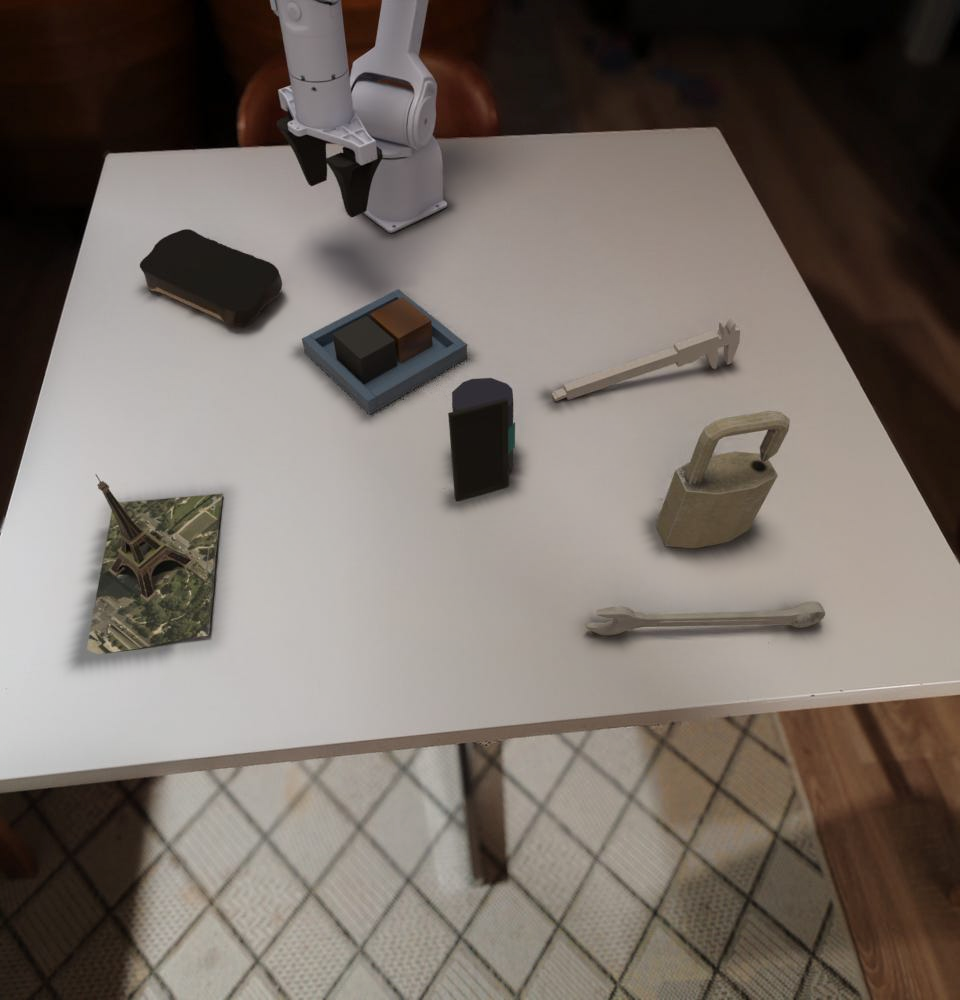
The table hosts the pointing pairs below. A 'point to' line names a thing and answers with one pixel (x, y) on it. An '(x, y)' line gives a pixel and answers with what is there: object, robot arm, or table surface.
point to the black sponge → (211, 277)
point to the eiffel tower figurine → (156, 572)
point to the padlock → (721, 484)
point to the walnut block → (405, 327)
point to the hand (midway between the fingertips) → (337, 197)
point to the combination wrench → (705, 618)
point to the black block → (365, 349)
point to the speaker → (481, 436)
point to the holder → (396, 379)
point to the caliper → (661, 360)
